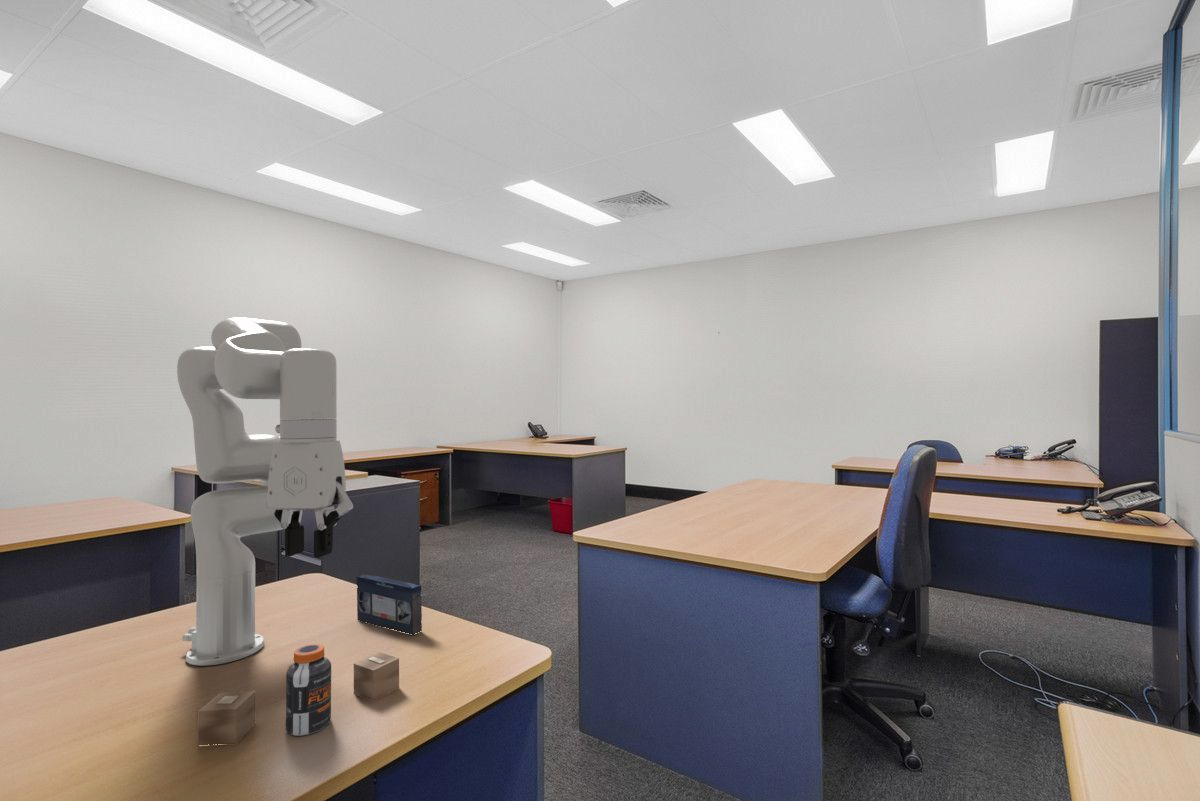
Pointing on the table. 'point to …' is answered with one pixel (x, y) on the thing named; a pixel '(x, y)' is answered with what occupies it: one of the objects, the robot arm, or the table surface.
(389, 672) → the marked cube two
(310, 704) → the pill bottle
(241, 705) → the marked cube one
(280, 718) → the table surface
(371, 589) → the vhs cassette tape
